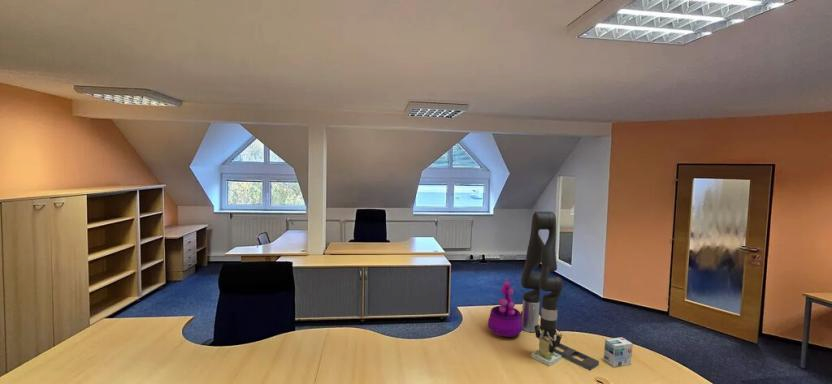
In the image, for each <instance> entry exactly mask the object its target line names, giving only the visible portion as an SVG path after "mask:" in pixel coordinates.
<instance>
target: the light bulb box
mask: <svg viewBox="0 0 832 384" xmlns="http://www.w3.org/2000/svg"><path fill="white" fill-rule="evenodd" d="M633 346H634V344H633V343H632V342H631V341H629V340H627V339H626V338H624V337H622V336H621V337H614V338H606V339H605V340H604V351H603V361H604V362H605V363H606V364H608V365H610V366H611V367H612V368H617V367H625V366H631V364H632V356H633V355H632V353H633Z"/></svg>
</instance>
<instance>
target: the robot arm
mask: <svg viewBox="0 0 832 384" xmlns="http://www.w3.org/2000/svg"><path fill="white" fill-rule="evenodd" d="M540 230H548V237H547V240H546V242H545V243H544V241H543V239H542V238H541V236H540V234H539V231H540ZM556 243H557V217H556V214H555V212H553V211H534V213H533V214H532V219H531V227H530V234H529V241H528V245H527V251H526V256H525V262H524V263H525V264H524V267H523V270H522V273H521V278H520V285H521V286H522V288H523V289H527V290H530V291H527V292H525V293H523V295H522V309H521V311H520V314H521V321H522V331H524V332H527V333H535V338H537V339H538V340H539V343H540V338H543V337H548V338H549V341H550V344H551V346H550V353H553V352H554V351H555V349H556V348H557V347H556V346H558V345H559V343H561V339H562V337H563V335H562V334H559V333H558V332H557V327H558V325H557V323H558V302H559V299H560V295H561V294H562V290H563V287H564V282H563V279H562V278H561V277H560V276H551V275H550V276H549V273H551V272H556V271H557V269H558V265H557V263H558V262H557V255H556V254H557V252H556V250H557V249H556V247H557V245H556ZM540 264H541V270H540V271H541V272H536V271H535V272H532V271H533V270H534V269H536V268H537V267H538V266H539V265H540ZM542 291H543V292H550V293H548V294H544V295H543V296H542V300H541V292H542ZM540 301H541V303H540ZM540 304H541V311H540ZM539 318H540V319H539ZM539 321H540V322H539ZM539 323H540V324H539ZM539 343H538V344H539ZM555 347H556V348H555Z"/></svg>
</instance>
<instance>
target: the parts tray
mask: <svg viewBox="0 0 832 384" xmlns="http://www.w3.org/2000/svg"><path fill="white" fill-rule="evenodd" d="M530 357H531V358H533V360H534V359H535V360H537V361H538V362H540V363H542V364H544V365H546V366H548V367H550V366H552V365H554V364H557V363H558V362H560V361H561V360H562V357H561V355H559V354H557V353H555V352H554V355H553V356H552V357H550V358H546V357H544V356H542V355H540V354H539V348H538V349H536V350H535V351H533V352H531V356H530Z"/></svg>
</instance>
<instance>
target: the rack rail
mask: <svg viewBox="0 0 832 384" xmlns="http://www.w3.org/2000/svg"><path fill="white" fill-rule="evenodd" d="M557 348H559V349H561V350H563V351H561V350H559V349H557ZM554 352H555V353H557V354H559V355H561V358H564V359H566V360H568V361H570V362H572V363H573V364H576V365H578V366H581V367H583V368H584V369H586V370H588V371H592V370H594V369H595V368H596V367H599V364H600V360H598V359H596V358H593V357H591V356H589V355H586V354H584V353H582V352H580V351H579V350H576V349H574V348H571V347H569V346H567V345H565V344H562V343H561V342H560V343H559V345H558V346H556V347H555V351H554ZM575 356H577V357H578V358H580V359H583V360H580V359H578V358H576V357H575Z"/></svg>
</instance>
